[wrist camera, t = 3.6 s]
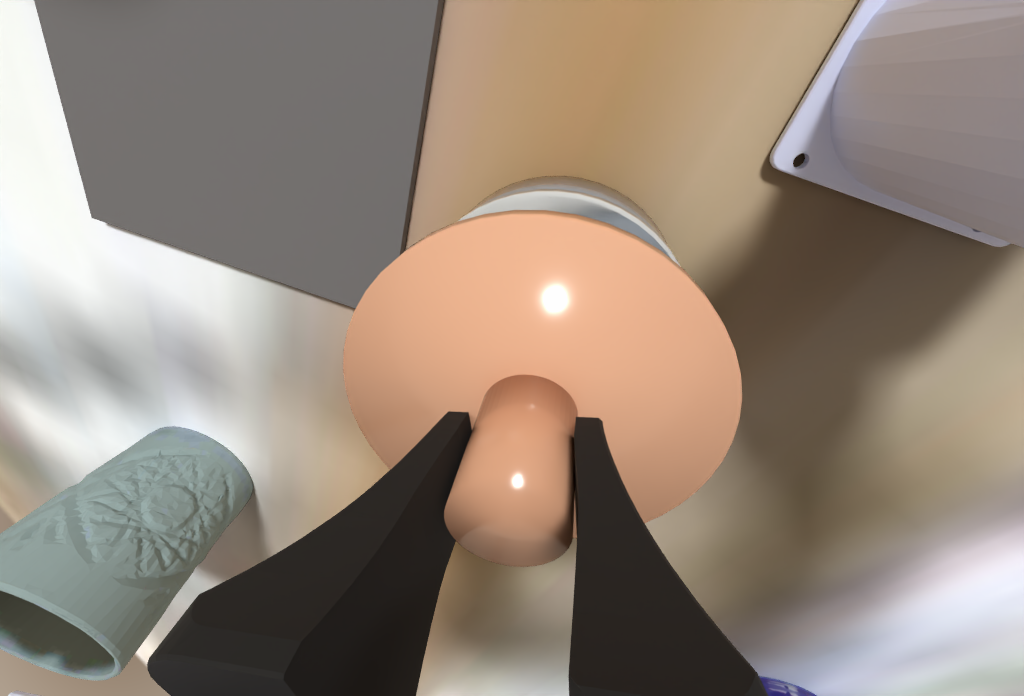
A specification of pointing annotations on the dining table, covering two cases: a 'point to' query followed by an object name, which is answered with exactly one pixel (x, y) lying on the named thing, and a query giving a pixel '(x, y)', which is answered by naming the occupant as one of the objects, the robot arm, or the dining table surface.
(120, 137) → the mat
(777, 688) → the dog bowl
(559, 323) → the lid
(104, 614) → the embossed green pot
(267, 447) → the dining table surface
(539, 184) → the bowl
